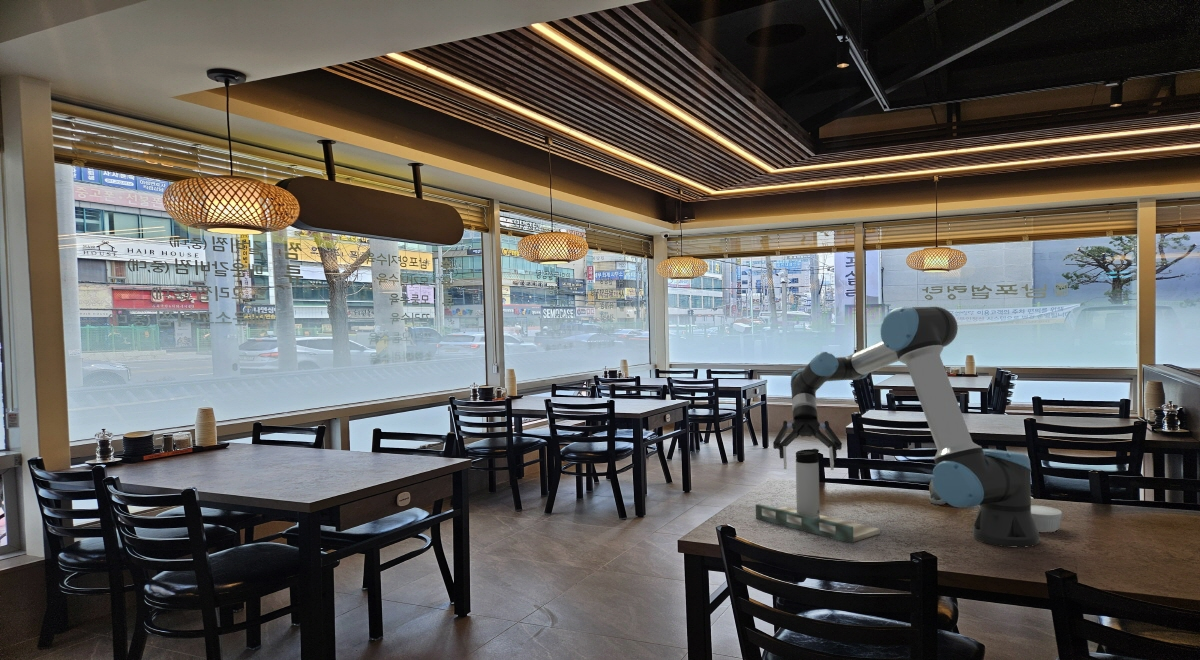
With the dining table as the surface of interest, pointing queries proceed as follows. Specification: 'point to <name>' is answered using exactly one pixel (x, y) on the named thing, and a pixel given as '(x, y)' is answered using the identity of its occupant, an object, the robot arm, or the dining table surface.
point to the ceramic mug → (934, 495)
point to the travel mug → (807, 482)
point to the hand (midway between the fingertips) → (808, 467)
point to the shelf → (816, 523)
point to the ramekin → (1046, 518)
